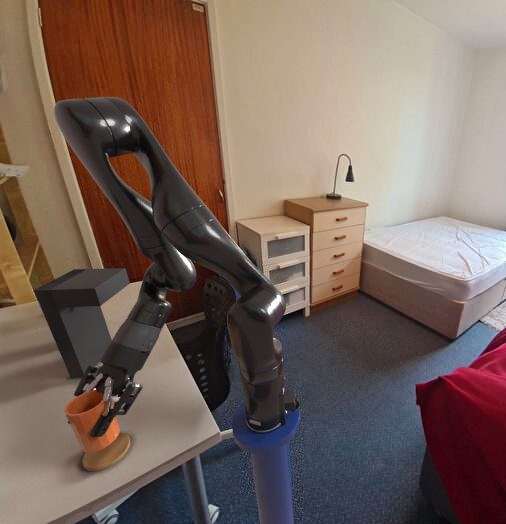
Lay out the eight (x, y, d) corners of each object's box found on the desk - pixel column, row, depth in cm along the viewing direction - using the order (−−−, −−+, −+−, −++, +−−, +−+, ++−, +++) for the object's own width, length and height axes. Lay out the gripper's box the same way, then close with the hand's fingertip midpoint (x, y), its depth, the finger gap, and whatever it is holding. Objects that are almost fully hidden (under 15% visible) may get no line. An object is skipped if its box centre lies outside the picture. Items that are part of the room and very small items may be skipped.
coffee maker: (146, 344, 91) (125, 268, 81) (123, 374, 79) (94, 288, 69) (101, 347, 88) (74, 269, 79) (70, 378, 77) (33, 290, 67)
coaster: (137, 433, 63) (136, 430, 62) (116, 468, 56) (115, 466, 55) (99, 437, 61) (98, 434, 61) (73, 474, 55) (72, 471, 54)
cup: (126, 423, 60) (113, 388, 57) (108, 450, 55) (93, 414, 51) (94, 426, 59) (79, 391, 56) (73, 454, 54) (55, 417, 50)
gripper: (93, 332, 59) (39, 418, 53) (141, 350, 54) (87, 447, 48) (126, 338, 66) (81, 416, 60) (171, 355, 61) (127, 441, 55)
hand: (84, 429), depth 54 cm, fingers closed on cup, 6 cm apart
